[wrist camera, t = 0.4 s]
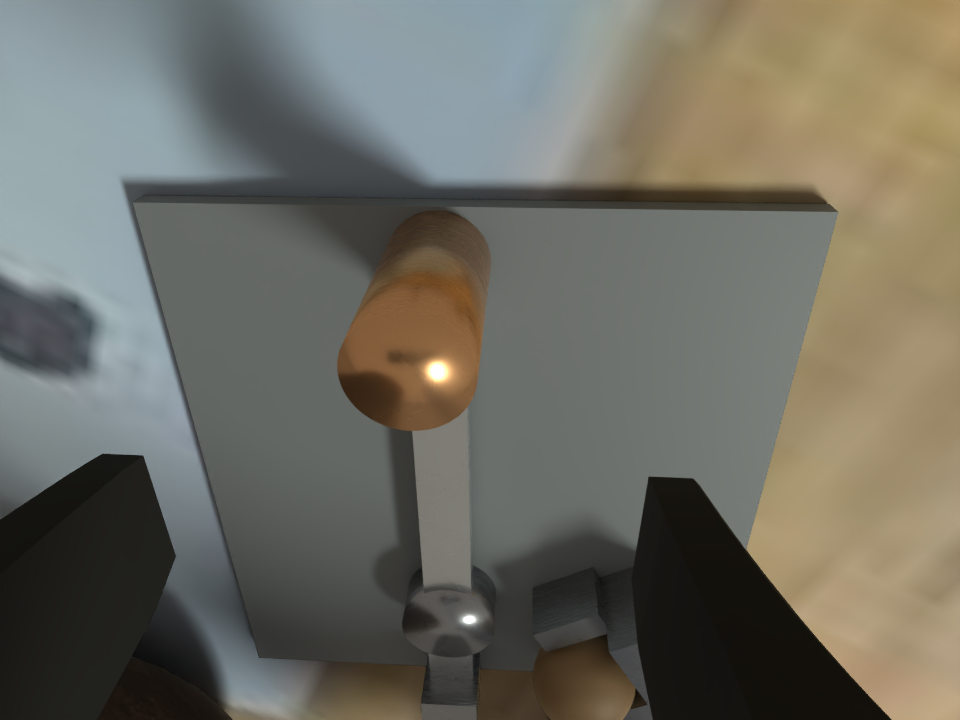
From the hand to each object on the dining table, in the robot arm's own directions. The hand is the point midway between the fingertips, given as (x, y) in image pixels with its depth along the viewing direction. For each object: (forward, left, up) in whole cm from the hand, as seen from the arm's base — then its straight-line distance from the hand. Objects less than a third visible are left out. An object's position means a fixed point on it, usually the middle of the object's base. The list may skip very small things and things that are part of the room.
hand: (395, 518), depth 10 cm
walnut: (-15, -4, -10) cm, 19 cm away
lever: (-9, 0, -10) cm, 13 cm away
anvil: (-14, -6, -10) cm, 18 cm away
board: (-8, 0, -10) cm, 13 cm away
